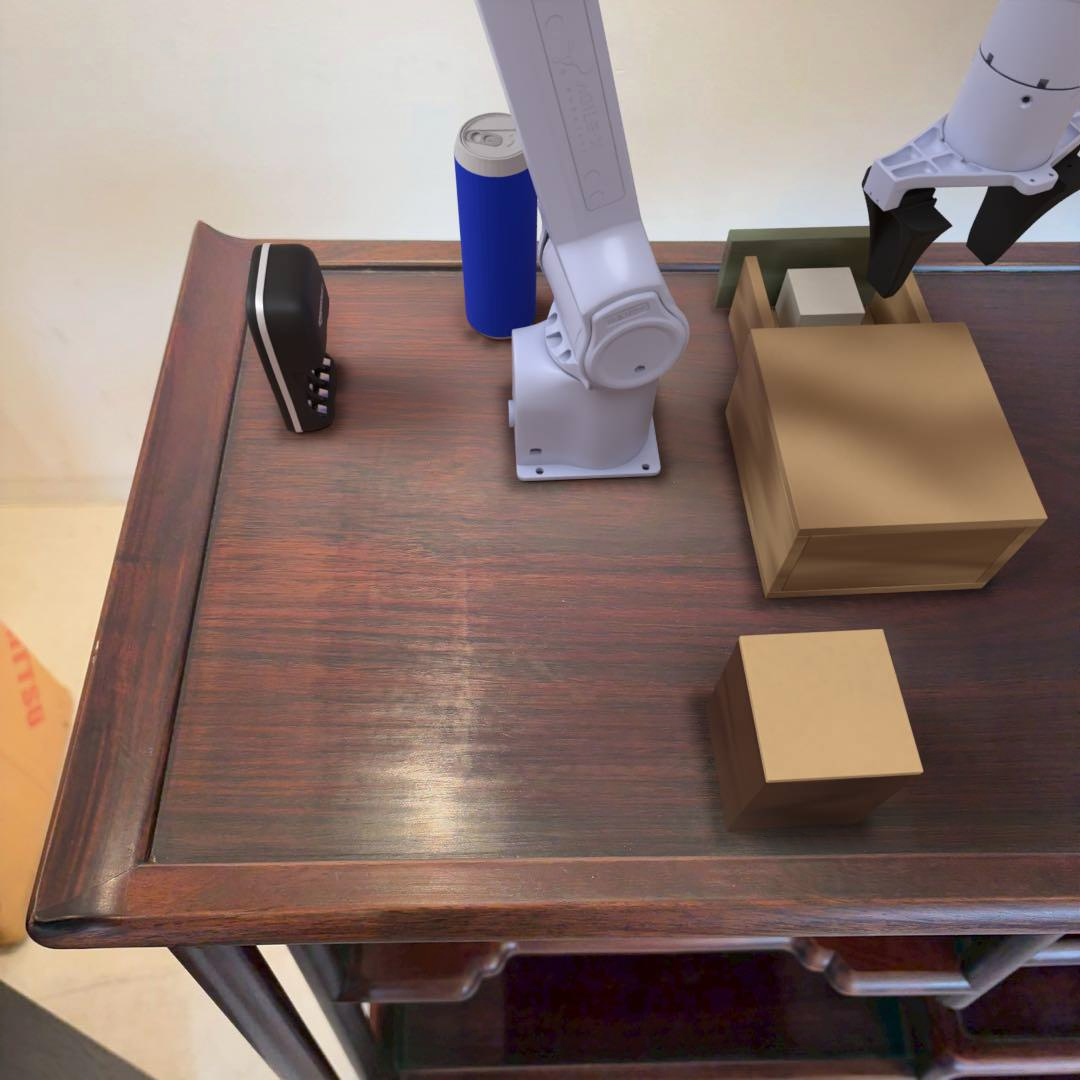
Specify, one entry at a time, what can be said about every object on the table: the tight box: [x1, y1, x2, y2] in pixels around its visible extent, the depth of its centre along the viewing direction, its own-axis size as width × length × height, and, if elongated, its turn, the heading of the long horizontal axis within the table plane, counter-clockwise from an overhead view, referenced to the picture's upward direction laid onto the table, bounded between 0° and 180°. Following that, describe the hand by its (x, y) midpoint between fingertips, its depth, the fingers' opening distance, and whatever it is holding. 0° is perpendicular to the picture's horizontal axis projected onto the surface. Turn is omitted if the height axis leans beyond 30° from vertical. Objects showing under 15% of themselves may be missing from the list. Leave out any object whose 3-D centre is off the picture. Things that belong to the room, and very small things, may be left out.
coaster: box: [738, 628, 924, 783], centre depth 41 cm, size 7×7×1 cm
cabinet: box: [724, 321, 1049, 599], centre depth 55 cm, size 15×14×8 cm
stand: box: [705, 639, 921, 832], centre depth 45 cm, size 7×7×9 cm
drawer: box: [712, 225, 933, 367], centre depth 61 cm, size 15×12×6 cm
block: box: [774, 267, 865, 328], centre depth 62 cm, size 4×4×4 cm
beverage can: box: [453, 111, 538, 340], centre depth 60 cm, size 5×5×15 cm
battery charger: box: [245, 242, 337, 433], centre depth 57 cm, size 7×4×11 cm, turn 4°
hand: (930, 270), depth 55 cm, fingers open, 7 cm apart
